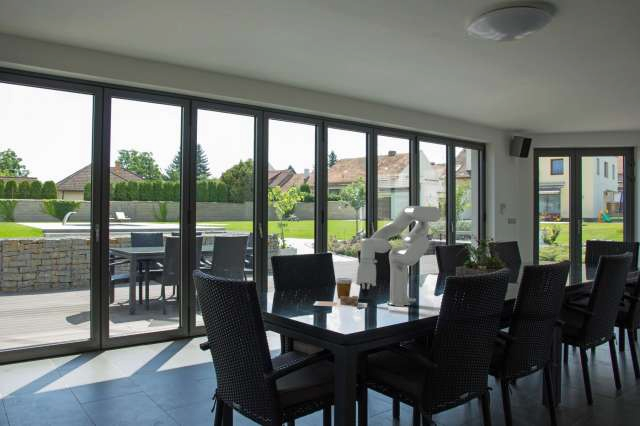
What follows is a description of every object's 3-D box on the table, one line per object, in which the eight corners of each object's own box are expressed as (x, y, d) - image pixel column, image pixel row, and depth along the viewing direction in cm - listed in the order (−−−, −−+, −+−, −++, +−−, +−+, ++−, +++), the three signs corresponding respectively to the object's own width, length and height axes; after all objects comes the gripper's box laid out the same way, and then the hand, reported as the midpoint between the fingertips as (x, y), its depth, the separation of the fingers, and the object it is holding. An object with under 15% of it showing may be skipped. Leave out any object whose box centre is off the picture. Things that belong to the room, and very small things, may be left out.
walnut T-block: (357, 303, 263) (358, 296, 263) (357, 306, 254) (357, 298, 254) (341, 302, 264) (341, 295, 264) (339, 305, 255) (340, 298, 255)
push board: (367, 305, 264) (367, 303, 264) (366, 309, 252) (366, 307, 252) (316, 303, 267) (316, 301, 267) (313, 307, 255) (313, 305, 255)
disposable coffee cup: (351, 298, 284) (352, 278, 284) (351, 301, 274) (351, 280, 274) (335, 298, 285) (336, 277, 285) (334, 301, 275) (335, 279, 275)
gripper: (381, 262, 261) (379, 296, 260) (353, 260, 262) (351, 294, 262) (381, 263, 253) (379, 298, 253) (352, 261, 255) (350, 296, 255)
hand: (365, 296), depth 257 cm, fingers closed
